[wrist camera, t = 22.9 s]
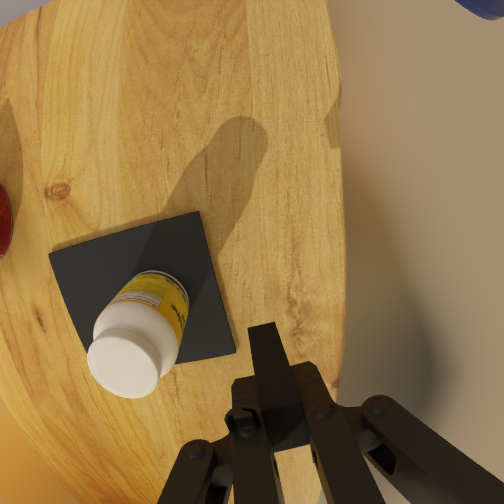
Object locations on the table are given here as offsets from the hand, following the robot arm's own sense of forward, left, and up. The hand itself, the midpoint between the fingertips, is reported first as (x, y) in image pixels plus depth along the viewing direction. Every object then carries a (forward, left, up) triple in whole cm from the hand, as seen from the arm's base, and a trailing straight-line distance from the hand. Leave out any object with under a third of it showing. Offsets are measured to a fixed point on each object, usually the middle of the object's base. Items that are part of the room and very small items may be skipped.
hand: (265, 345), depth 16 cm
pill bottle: (+9, 0, -11) cm, 14 cm away
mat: (+11, 0, -11) cm, 16 cm away
